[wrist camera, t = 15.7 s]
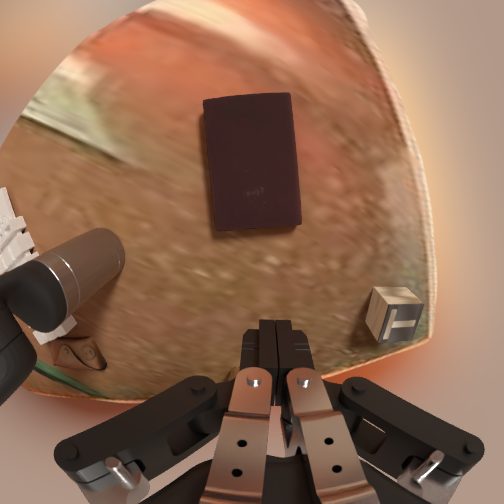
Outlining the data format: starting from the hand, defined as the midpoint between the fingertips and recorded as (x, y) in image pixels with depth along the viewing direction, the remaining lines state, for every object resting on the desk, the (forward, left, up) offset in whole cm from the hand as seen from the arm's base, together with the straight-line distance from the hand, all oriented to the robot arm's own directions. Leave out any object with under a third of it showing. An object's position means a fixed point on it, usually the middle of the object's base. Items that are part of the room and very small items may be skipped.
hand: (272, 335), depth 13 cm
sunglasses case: (-43, -31, -30) cm, 61 cm away
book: (-2, +9, -30) cm, 31 cm away
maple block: (+23, -14, -22) cm, 35 cm away
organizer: (-53, -10, -30) cm, 61 cm away
